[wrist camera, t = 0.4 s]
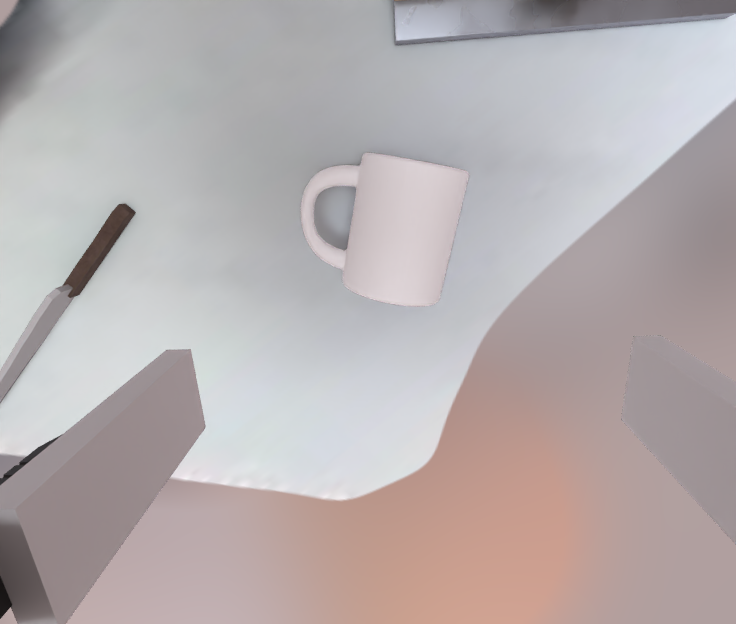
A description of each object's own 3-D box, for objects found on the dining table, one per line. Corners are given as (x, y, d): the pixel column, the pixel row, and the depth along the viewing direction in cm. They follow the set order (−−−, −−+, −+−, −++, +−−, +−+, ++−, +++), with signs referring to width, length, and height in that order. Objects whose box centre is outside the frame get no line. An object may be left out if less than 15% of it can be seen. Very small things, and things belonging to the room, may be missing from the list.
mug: (461, 172, 36) (479, 171, 29) (434, 287, 39) (444, 315, 32) (317, 145, 36) (298, 137, 28) (302, 262, 39) (280, 284, 31)
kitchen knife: (103, 205, 35) (-59, 445, 42) (115, 215, 35) (-49, 451, 42) (132, 203, 39) (-21, 421, 46) (142, 211, 39) (-11, 428, 46)
